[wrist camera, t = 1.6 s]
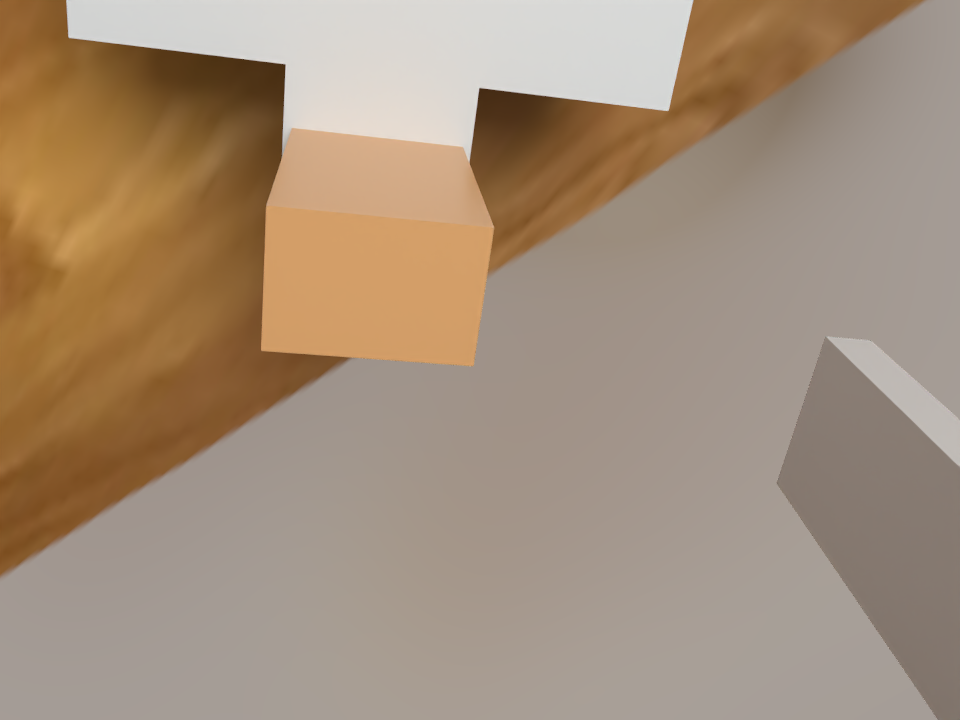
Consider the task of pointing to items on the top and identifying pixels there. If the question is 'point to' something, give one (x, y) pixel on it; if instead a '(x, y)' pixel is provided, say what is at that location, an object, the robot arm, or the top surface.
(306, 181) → the lid
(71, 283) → the top surface
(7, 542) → the top surface
